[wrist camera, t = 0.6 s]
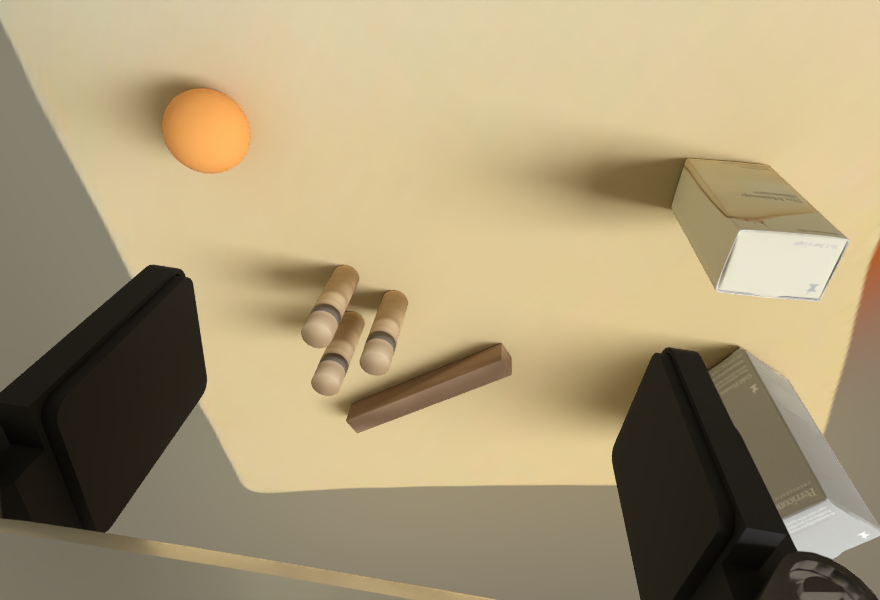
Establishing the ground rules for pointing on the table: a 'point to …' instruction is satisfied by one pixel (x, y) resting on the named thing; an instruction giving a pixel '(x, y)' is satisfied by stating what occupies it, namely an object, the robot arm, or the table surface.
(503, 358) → the back wall
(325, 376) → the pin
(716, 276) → the skincare box
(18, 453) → the robot arm
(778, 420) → the skincare box
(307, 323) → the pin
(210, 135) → the ball
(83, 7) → the table surface
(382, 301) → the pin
